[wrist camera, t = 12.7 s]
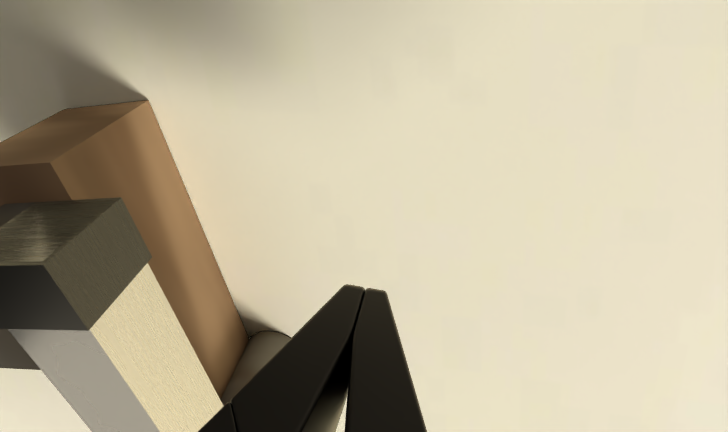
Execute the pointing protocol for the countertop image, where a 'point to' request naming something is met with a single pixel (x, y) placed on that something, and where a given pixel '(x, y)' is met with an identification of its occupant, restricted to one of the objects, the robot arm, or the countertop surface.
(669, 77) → the countertop surface
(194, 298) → the wooden block clamp
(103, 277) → the bar
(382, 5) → the countertop surface
